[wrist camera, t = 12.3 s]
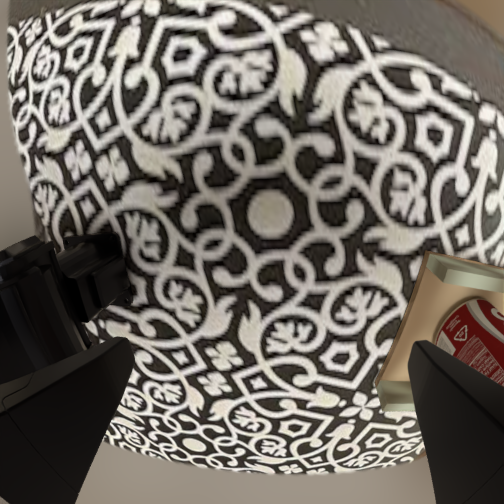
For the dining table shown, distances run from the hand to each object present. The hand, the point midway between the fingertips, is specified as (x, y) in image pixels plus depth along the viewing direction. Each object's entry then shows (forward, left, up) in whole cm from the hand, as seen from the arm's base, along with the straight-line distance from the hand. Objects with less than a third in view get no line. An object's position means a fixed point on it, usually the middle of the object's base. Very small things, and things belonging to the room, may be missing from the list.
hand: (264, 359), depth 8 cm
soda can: (+16, -8, -12) cm, 22 cm away
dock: (+16, -9, -13) cm, 22 cm away
